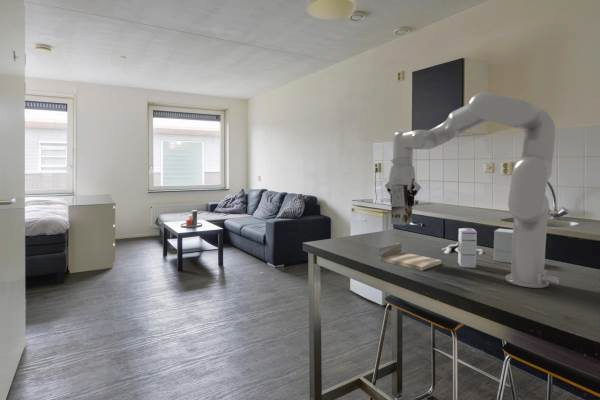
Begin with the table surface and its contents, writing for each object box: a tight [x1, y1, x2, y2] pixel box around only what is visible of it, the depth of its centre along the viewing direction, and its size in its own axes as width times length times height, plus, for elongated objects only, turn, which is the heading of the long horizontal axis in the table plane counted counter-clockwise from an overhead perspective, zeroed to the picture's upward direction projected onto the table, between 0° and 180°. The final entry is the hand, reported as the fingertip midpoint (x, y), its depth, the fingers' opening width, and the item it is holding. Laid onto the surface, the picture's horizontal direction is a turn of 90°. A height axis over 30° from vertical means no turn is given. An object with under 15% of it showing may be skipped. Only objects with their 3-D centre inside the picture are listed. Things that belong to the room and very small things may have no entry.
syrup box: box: [457, 227, 478, 269], centre depth 146 cm, size 6×6×14 cm
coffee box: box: [390, 185, 413, 226], centre depth 153 cm, size 9×6×16 cm
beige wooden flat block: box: [378, 242, 442, 271], centre depth 152 cm, size 21×14×6 cm
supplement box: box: [493, 228, 513, 264], centre depth 153 cm, size 7×7×13 cm
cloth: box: [441, 242, 484, 255], centre depth 169 cm, size 22×19×6 cm
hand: (402, 205), depth 153 cm, fingers closed on coffee box, 7 cm apart
